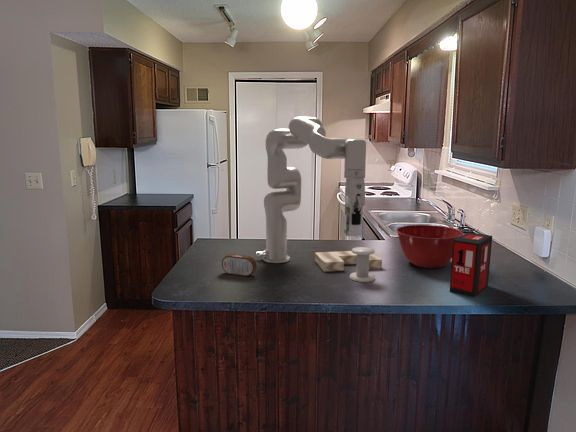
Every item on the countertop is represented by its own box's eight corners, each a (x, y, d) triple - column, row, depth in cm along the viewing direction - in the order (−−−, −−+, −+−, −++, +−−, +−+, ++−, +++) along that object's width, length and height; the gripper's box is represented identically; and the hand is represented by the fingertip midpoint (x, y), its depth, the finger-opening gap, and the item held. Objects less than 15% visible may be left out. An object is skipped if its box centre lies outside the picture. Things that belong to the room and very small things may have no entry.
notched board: (324, 271, 193) (324, 262, 192) (314, 260, 208) (314, 252, 207) (381, 268, 197) (382, 259, 197) (368, 258, 213) (368, 250, 212)
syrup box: (343, 232, 170) (344, 194, 167) (358, 232, 171) (360, 194, 168) (346, 236, 165) (347, 196, 162) (362, 236, 165) (363, 196, 162)
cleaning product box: (473, 297, 164) (478, 243, 160) (449, 291, 169) (453, 239, 166) (487, 285, 176) (492, 235, 173) (464, 280, 182) (468, 232, 178)
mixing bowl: (383, 264, 204) (384, 230, 201) (413, 252, 224) (415, 221, 221) (443, 278, 185) (446, 241, 182) (470, 263, 205) (473, 230, 203)
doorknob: (354, 282, 179) (355, 253, 176) (346, 274, 188) (347, 247, 186) (378, 281, 180) (379, 252, 178) (369, 273, 190) (370, 246, 188)
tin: (257, 275, 187) (256, 255, 185) (254, 278, 184) (253, 257, 182) (224, 271, 192) (223, 252, 190) (220, 274, 189) (220, 254, 187)
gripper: (373, 176, 156) (370, 227, 159) (357, 171, 172) (355, 218, 176) (352, 176, 154) (350, 228, 158) (338, 171, 171) (336, 218, 174)
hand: (353, 222), depth 167 cm, fingers closed on syrup box, 6 cm apart
